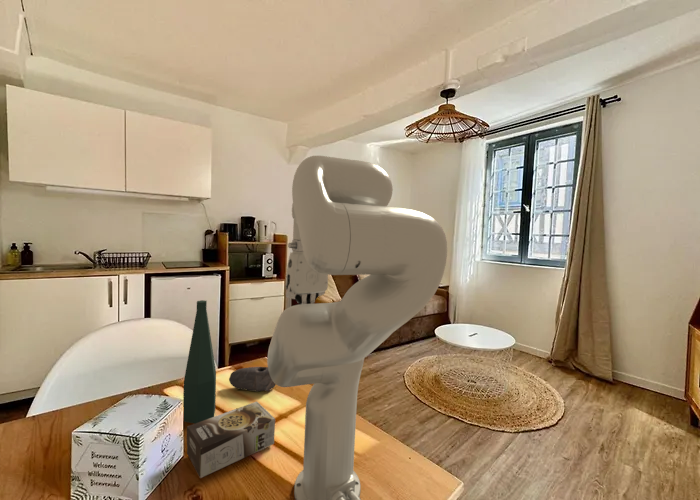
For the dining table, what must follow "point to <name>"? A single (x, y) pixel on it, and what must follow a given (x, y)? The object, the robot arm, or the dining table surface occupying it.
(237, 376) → the perforated stone tool
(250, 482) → the dining table surface
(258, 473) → the dining table surface
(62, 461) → the dining table surface
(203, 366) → the bottle
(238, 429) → the coffee box
